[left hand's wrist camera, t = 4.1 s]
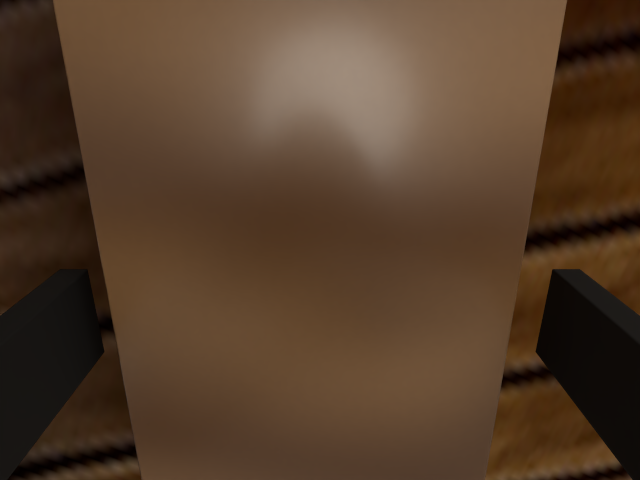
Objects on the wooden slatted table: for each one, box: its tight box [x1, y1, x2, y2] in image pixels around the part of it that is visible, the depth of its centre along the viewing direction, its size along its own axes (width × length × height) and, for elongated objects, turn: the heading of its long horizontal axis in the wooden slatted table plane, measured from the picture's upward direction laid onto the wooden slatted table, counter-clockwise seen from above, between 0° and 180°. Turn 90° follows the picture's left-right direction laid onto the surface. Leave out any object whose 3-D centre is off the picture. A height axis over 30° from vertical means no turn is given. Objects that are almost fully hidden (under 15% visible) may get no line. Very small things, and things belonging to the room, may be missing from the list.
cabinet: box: [53, 0, 567, 480], centre depth 16 cm, size 18×10×12 cm, turn 0°
